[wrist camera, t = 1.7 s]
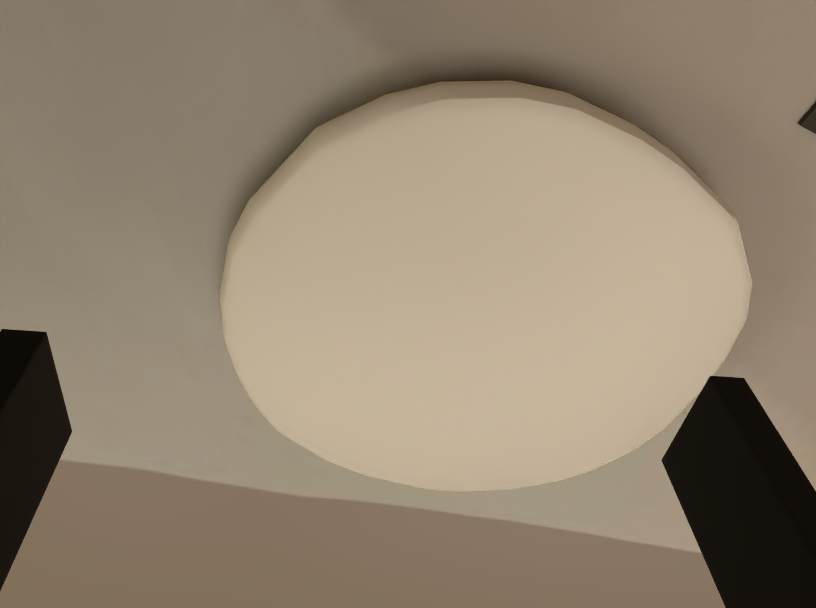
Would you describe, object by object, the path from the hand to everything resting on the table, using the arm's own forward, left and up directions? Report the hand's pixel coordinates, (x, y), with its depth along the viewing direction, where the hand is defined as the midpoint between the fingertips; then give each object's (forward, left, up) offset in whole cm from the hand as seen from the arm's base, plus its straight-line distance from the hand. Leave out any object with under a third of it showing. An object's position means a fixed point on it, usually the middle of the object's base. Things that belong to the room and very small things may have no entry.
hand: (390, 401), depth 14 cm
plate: (+10, -10, -22) cm, 26 cm away
